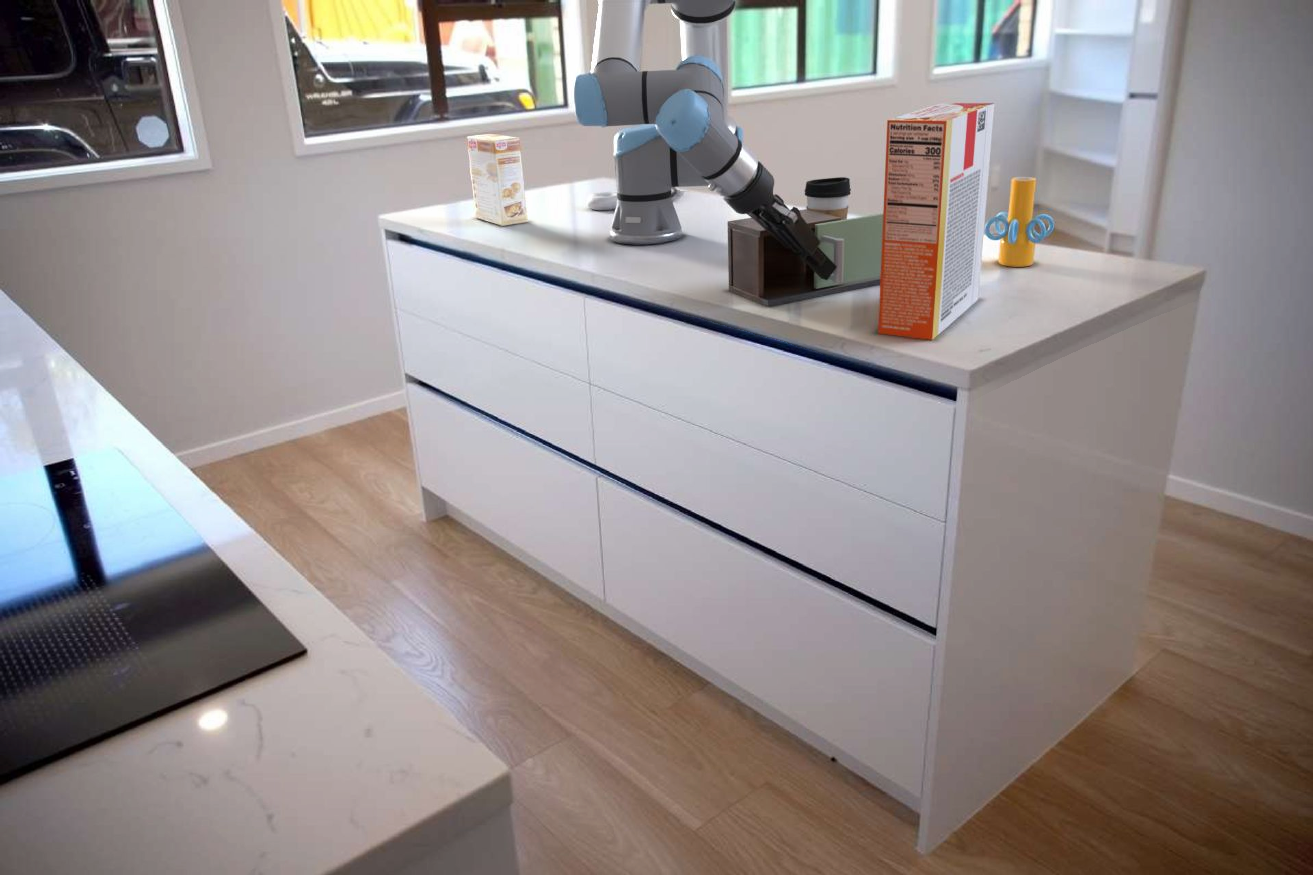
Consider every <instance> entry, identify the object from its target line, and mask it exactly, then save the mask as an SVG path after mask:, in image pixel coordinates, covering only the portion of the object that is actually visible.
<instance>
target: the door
mask: <svg viewBox="0 0 1313 875" xmlns="http://www.w3.org/2000/svg"><path fill="white" fill-rule="evenodd" d="M882 233H883V213H877V214H869V215H865V216H864V215H863V216H858V217H852V218H847V219H845V220H839V221H833V222H827V223H821V224H815V235H816V236H817V238H818V239H819V240H820V242H821V243H820V244H819V246H818V247H819V248H820V249H821V250H822V252H823V253H824V254H825V255H826V256H827V257H828V258H829V259H830V260H831V261H832V262H833V263H834V264H835V265H836V266H837V267H836V269H835V270H834V272H833V273H832V274H831V276H830V277H829V278H828V280H824V279H821V278H820V277H819V276H818V274H817V273H816V272H815V271H814V288H816V289H818V288H823V287H828V286H834V285H839V284H844V283H849V282H854V281H859V280H864V279H869V278H874V277H879V276H881V257H882Z"/></svg>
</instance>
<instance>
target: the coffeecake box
mask: <svg viewBox="0 0 1313 875" xmlns="http://www.w3.org/2000/svg"><path fill="white" fill-rule="evenodd" d="M520 139H521V138H520V137H518V136H510V135H502V134H495V133H485V134H484V133H483V134H475V135H467V136H466V144H467V153H468V160H469V169H470V170H469V171H470V179H471V187H472V196H473V204H474V211H475V212H474V213H475V219H479V220H482V221H486V222H489V223H492V224H494V225H498V226H502V227H505V226H512V225H518V224H524V223H528V222H529V220H528V214H527V201H526V193H525V180H524V171H523V161H522V152H521V150H522V149H521V142H520V141H521V140H520Z"/></svg>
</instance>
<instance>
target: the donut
mask: <svg viewBox="0 0 1313 875" xmlns="http://www.w3.org/2000/svg"><path fill="white" fill-rule="evenodd" d="M586 204H587V207H588V208H589V209H592V210H594V211H613V210H616V206H617V191H601V192H595V193H592V194H590V195H589V196H588V197H587V198H586Z"/></svg>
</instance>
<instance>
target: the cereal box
mask: <svg viewBox="0 0 1313 875" xmlns="http://www.w3.org/2000/svg"><path fill="white" fill-rule="evenodd" d="M994 114H995V103H994V102H992V103H990V102H987V103H986V102H985V103H984V102H980V103H979V102H940V103H937V104H934V105H930V106H928V107H924V108H920V109H917V110H915V111H912V112H909V113H905V114H902V115H899V116H896V117H892V118H890V119H887V122H886V141H885V142H886V143H885V166H884V167H885V168H884V171H885V172H884V190H883V210H882V211H883V233H882V257H881V280H880V284H879V304H878V306H879V307H878V330H877V333H878V334H882V335H889V336H890V335H891V336H897V337H905V338H913V339H920V340H929V341H933V340H934V339H935V338H936V337H937V336H939V335H940V334H941V333H942V332H943V331H944V330H946V328H948V327H949V326H950V325H951V324H952V323H953V322H954V321H956V320H957V319H958V318H959V317H960V316H961V315H963V314H964V313H965V312H966V311H967V310H968V309H969V308H971V307H972V306H973V305H974V304H975V303H976V302H977V301H978V300H979V295H980V294H979V293H980V281H981V270H982V257H983V246H984V236H985V235H984V234H985V224H986V212H987V211H986V209H987V197H988V186H989V174H990V164H991V150H992V139H993V138H992V137H993V126H994V116H995V115H994Z"/></svg>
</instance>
